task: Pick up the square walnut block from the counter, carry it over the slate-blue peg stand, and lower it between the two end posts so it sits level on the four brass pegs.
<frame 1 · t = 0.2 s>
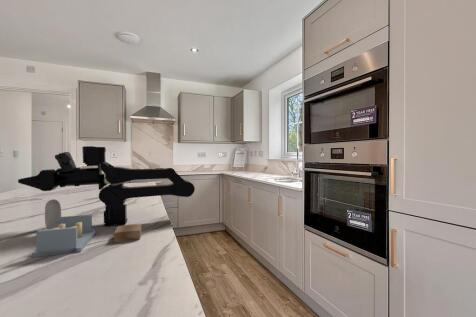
hand: (26, 179, 74), 17 cm above the countertop, tool horizontal, fingers open, 9 cm apart
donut: (53, 231, 75), on the countertop
peg stand: (67, 244, 63), on the countertop
walnut block: (128, 238, 68), on the countertop
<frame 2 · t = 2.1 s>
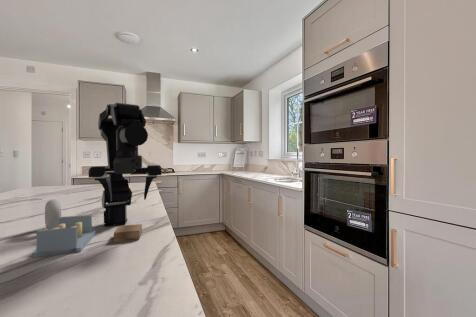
hand: (128, 200, 68), 11 cm above the countertop, tool pointing down, fingers open, 9 cm apart
nothing on the countertop moved.
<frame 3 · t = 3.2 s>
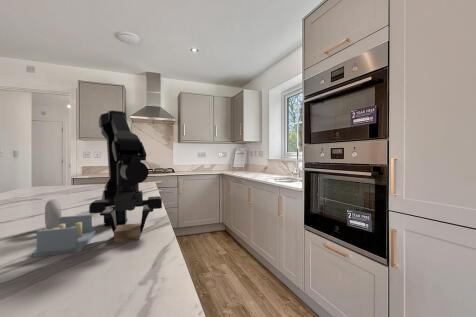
hand: (128, 233, 68), 1 cm above the countertop, tool pointing down, fingers closed on walnut block, 7 cm apart
walnut block: (128, 237, 69), on the countertop, touching gripper
everything else where it was.
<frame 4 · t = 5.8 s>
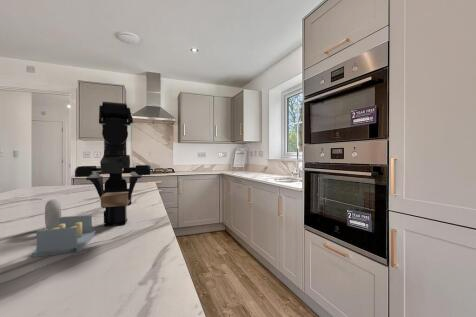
hand: (116, 200, 67), 11 cm above the countertop, tool pointing down, fingers closed on walnut block, 6 cm apart
walnut block: (116, 204, 67), point 10 cm above the countertop, touching gripper
everything else where it was.
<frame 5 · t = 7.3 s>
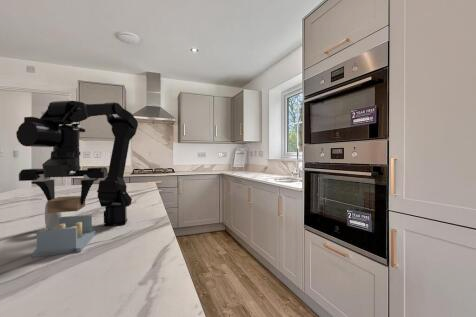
hand: (67, 205, 63), 10 cm above the countertop, tool pointing down, fingers closed on walnut block, 6 cm apart
walnut block: (67, 209, 63), point 9 cm above the countertop, touching gripper
everything else where it was.
when the fingers open (7 cm above the countertop, at t = 8.4 s): walnut block drops 1 cm, resting on peg stand.
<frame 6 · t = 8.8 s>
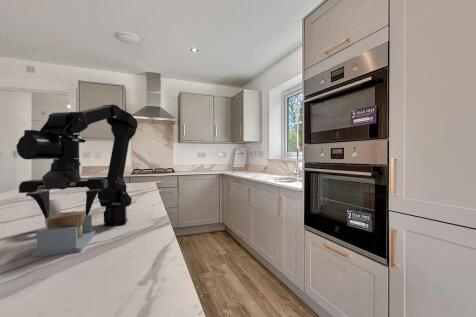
hand: (67, 216, 63), 7 cm above the countertop, tool pointing down, fingers open, 9 cm apart
walnut block: (67, 225, 63), point 5 cm above the countertop, touching peg stand
everything else where it was.
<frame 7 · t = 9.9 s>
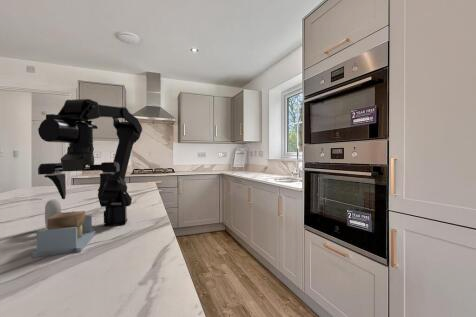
hand: (82, 197, 67), 12 cm above the countertop, tool pointing down, fingers open, 9 cm apart
nothing on the countertop moved.
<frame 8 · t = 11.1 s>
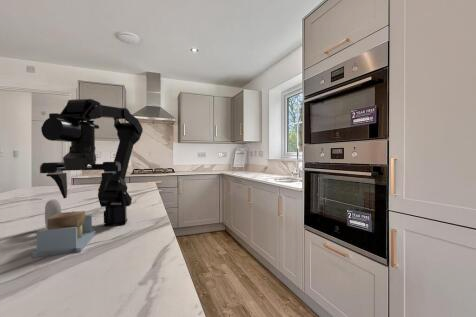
hand: (83, 197, 67), 12 cm above the countertop, tool pointing down, fingers open, 9 cm apart
nothing on the countertop moved.
at the end: walnut block 0.0 cm off-centre on the peg stand, point 5.0 cm above the peg stand's base; walnut block tilted 0°; the gripper is holding nothing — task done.
